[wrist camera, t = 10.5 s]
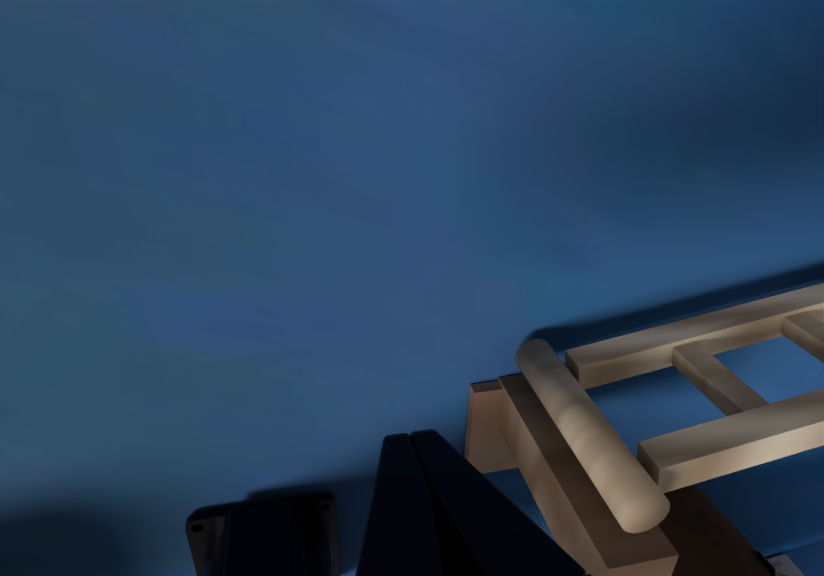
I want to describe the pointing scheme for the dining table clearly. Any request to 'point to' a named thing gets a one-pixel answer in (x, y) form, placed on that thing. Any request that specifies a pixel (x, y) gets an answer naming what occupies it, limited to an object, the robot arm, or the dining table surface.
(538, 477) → the hinge post
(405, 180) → the dining table surface
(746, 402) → the gate
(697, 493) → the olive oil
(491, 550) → the robot arm
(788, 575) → the coffee box
